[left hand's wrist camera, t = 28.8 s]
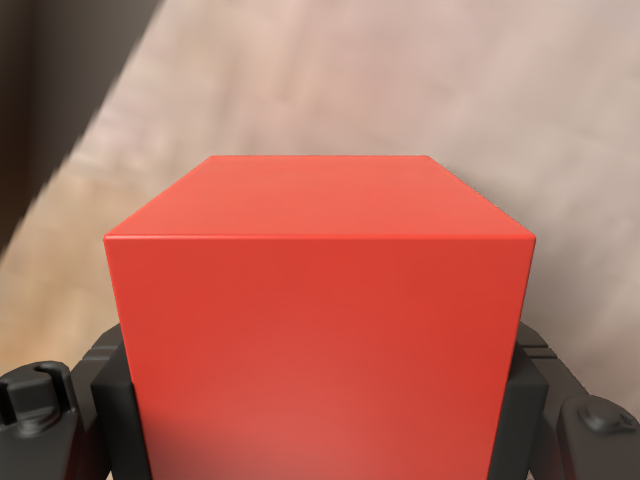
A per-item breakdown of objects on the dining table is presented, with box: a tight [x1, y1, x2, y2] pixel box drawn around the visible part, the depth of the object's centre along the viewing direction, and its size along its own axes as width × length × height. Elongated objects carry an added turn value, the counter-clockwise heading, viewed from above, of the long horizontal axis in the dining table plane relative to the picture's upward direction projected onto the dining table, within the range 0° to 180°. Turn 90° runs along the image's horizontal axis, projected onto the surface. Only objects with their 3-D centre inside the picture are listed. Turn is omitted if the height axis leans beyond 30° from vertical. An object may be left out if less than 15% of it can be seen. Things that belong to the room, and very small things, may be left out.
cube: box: [103, 156, 536, 480], centre depth 12 cm, size 8×7×7 cm
